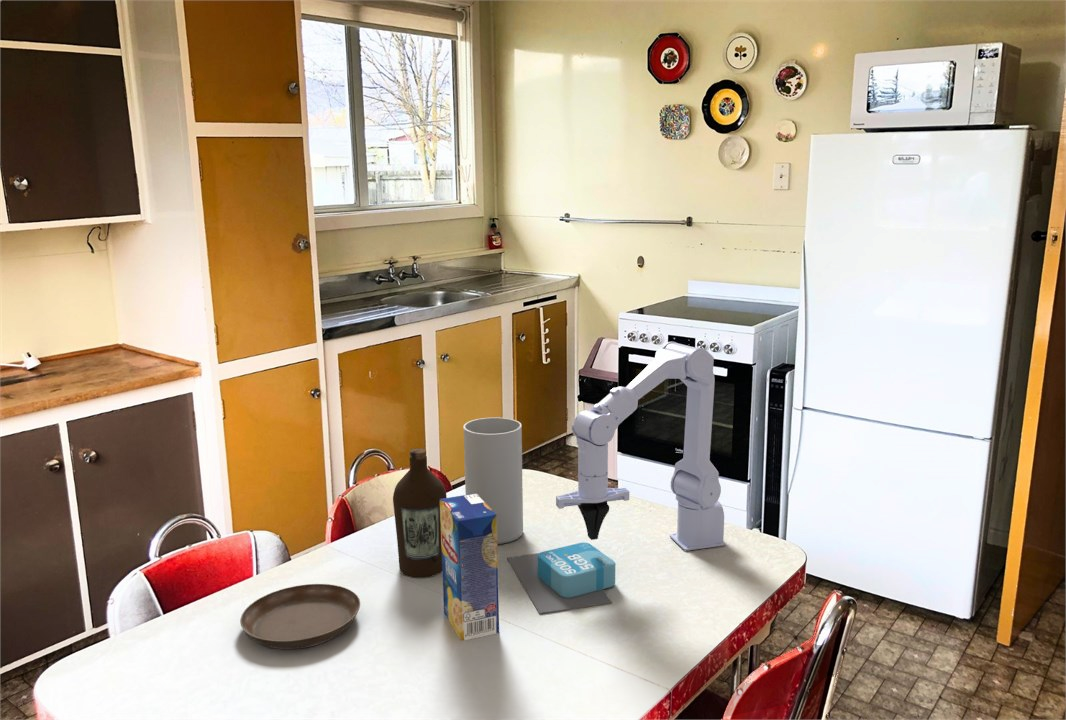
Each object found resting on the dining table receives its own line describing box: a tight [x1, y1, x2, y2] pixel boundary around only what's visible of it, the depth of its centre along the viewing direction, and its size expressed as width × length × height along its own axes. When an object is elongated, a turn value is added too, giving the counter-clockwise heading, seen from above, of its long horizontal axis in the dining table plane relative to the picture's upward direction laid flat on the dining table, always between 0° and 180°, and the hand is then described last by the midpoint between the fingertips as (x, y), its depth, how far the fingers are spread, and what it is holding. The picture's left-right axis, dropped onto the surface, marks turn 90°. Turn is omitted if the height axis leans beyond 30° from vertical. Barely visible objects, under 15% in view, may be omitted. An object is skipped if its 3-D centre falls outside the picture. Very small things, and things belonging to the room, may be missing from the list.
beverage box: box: [440, 493, 500, 642], centre depth 151 cm, size 7×11×22 cm, turn 22°
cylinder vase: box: [463, 417, 524, 545], centre depth 188 cm, size 12×12×25 cm
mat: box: [506, 552, 613, 615], centre depth 169 cm, size 14×24×1 cm, turn 16°
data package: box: [538, 542, 616, 598], centre depth 168 cm, size 12×4×12 cm
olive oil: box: [392, 447, 448, 579], centre depth 172 cm, size 11×11×25 cm
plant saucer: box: [239, 583, 361, 650], centre depth 153 cm, size 21×21×3 cm
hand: (592, 537), depth 170 cm, fingers closed
